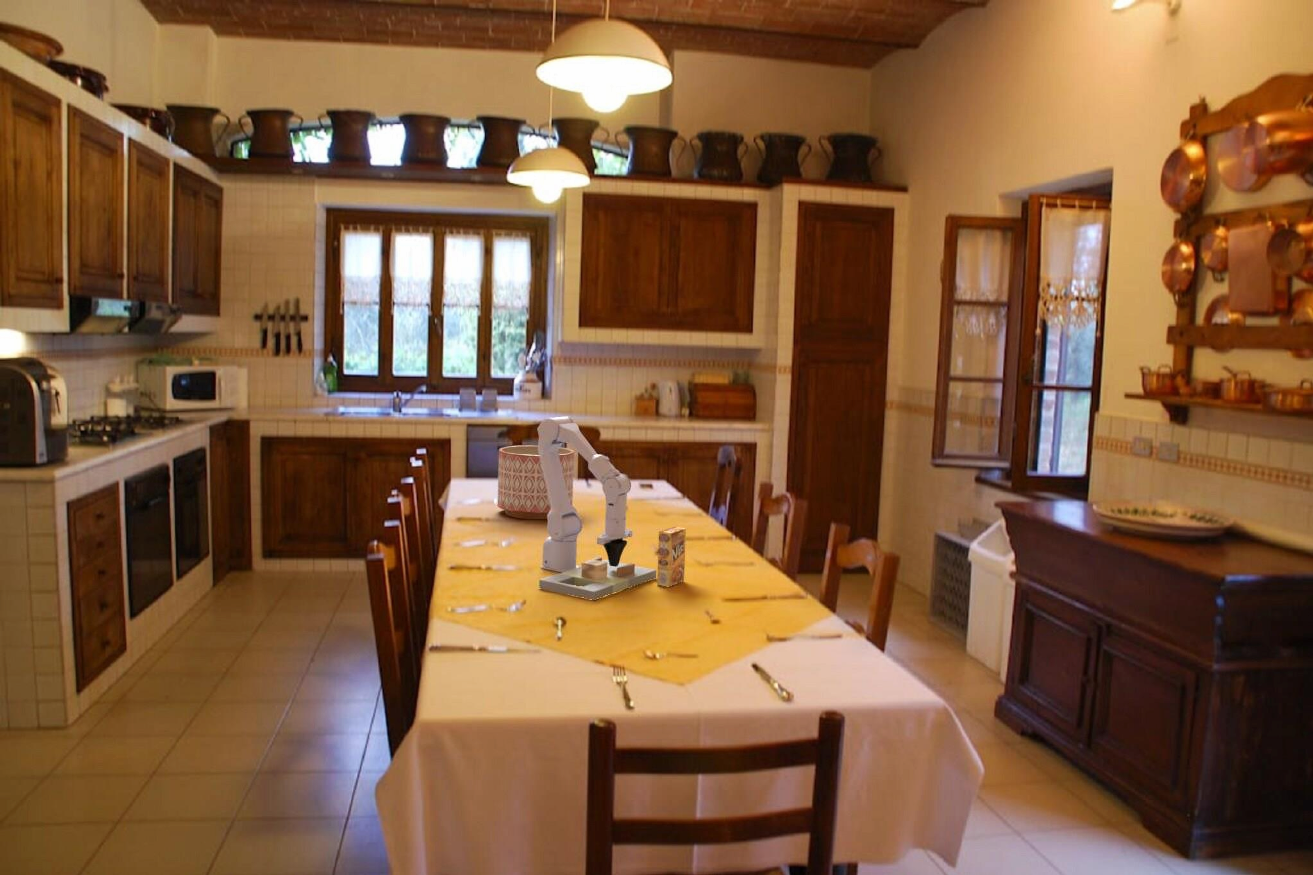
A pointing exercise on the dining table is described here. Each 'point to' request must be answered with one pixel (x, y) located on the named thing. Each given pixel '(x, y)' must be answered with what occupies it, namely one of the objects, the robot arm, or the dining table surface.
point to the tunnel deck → (594, 589)
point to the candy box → (671, 556)
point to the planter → (528, 481)
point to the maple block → (594, 569)
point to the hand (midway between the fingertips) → (613, 565)
